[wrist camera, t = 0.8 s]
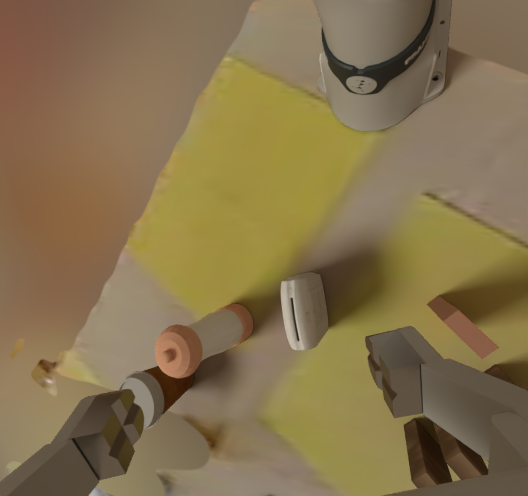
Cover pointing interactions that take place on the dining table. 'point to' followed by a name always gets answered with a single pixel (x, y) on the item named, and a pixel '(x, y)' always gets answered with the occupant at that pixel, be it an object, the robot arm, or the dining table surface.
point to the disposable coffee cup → (155, 392)
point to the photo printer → (304, 310)
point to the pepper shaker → (202, 340)
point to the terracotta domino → (463, 327)
